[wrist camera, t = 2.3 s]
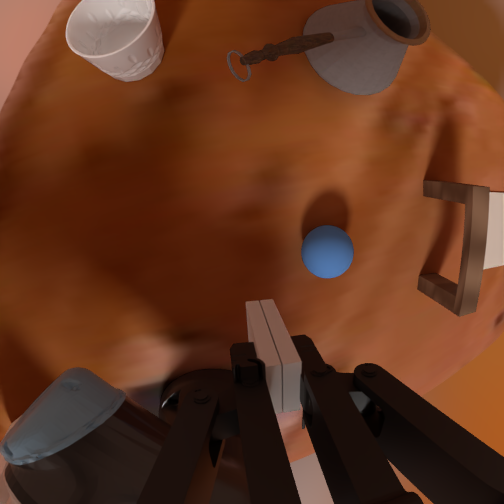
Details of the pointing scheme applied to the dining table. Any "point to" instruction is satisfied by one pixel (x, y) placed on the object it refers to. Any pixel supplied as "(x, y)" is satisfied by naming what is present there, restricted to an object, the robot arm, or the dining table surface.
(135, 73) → the white cup
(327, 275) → the ball
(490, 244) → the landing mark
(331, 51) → the coffee pot
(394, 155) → the dining table surface
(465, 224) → the bridge
